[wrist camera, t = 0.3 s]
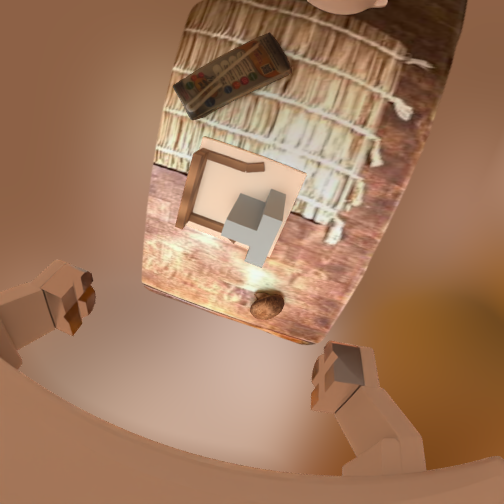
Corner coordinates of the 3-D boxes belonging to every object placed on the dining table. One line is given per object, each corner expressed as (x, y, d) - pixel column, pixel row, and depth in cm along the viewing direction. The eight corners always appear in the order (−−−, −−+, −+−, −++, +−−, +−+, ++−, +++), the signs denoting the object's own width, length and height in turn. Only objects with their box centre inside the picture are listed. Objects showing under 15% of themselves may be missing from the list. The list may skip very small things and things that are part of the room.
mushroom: (242, 292, 64) (251, 317, 60) (275, 278, 64) (286, 302, 61) (248, 305, 71) (257, 327, 67) (278, 292, 71) (288, 314, 68)
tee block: (245, 179, 53) (231, 202, 43) (286, 194, 53) (282, 221, 43) (231, 219, 58) (215, 250, 47) (269, 234, 58) (261, 267, 48)
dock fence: (204, 141, 50) (195, 146, 46) (267, 163, 51) (264, 170, 46) (182, 221, 59) (173, 232, 55) (237, 241, 60) (232, 254, 56)
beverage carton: (182, 85, 46) (168, 85, 40) (274, 36, 39) (270, 29, 34) (201, 119, 49) (189, 122, 44) (294, 73, 42) (294, 69, 37)
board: (204, 136, 50) (203, 137, 50) (306, 173, 51) (306, 174, 51) (181, 221, 61) (180, 223, 60) (270, 254, 61) (269, 257, 61)
